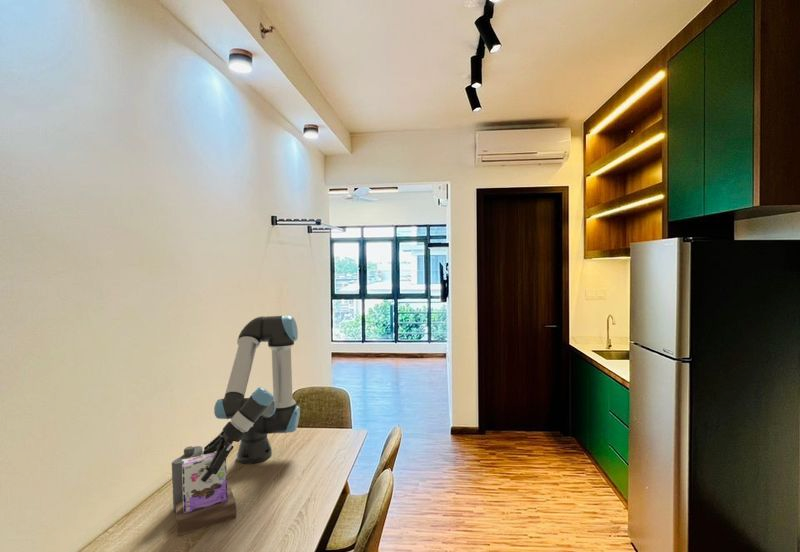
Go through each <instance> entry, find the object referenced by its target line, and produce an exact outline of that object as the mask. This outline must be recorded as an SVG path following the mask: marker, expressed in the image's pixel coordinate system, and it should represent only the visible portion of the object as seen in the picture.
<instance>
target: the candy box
mask: <svg viewBox="0 0 800 552" xmlns="http://www.w3.org/2000/svg"><path fill="white" fill-rule="evenodd" d="M215 454H216V451H215V452H214V453H210V454H205V455H201V456H197V457H192V458H188V459H182V489H183V510H184V513H188V512H192V511H195V510H198V509H202V508H205V507H209V506H212V505H215V504H219V503H222V502H226V501H227V488H228V479H227V475H228V474H227V458H226V459H225V461H224V463H223V464H222V466H221V468H220V469H219V471H218V472H217V474H216V475H215V474H212V475H211V477H210V478H209V479H208V480H207V481H206V483H205V484H204V485H203V486H202V488H201V489H200V490H199V491H197V490H195V489H194V488H192V485H193V484H194V483H195V482H196V480H197V479H198V478H199V477H200V476H201V474H202V473H203V472H204V471H205V470H206V468H207V467H209V466H210V464H211V462H212V460H213V458H214V456H215Z"/></svg>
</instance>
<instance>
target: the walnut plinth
mask: <svg viewBox="0 0 800 552" xmlns="http://www.w3.org/2000/svg"><path fill="white" fill-rule="evenodd" d="M175 513H176V514H175V515H176V517H175V519H176V528H177V529H176V531H177V532H176V533H177V537H180V536H183V535H186V534H188V533H192V532H196V531H199V530H202V529H204V528H208V527H210V526H214V525H217V524H220V523H223V522H226V521H229V520H232V519H236V518H237V502H236V499H235V497H234V494H233V491H232V488H231V487H229V488H228V487H227V501H226V502H222V503H219V504H215V505H212V506H209V507H205V508H202V509H198V510H195V511H192V512H188V513H184V510H183V501H182V502H178V503H176V512H175Z"/></svg>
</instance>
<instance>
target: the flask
mask: <svg viewBox="0 0 800 552" xmlns="http://www.w3.org/2000/svg"><path fill="white" fill-rule="evenodd" d="M203 451H204V448H203V447H202V446H200V445H196V446H195V445H194V446H186V447H185V448H184V449H183V454H182V455H181V456H180V457H178V458H176V459H174V460H173V461H172V462H171V479H172V480H171V481H172V501H173V502H172V505H173V506H172V507H173V511H174V512H175V513H176V503H178V502H182V501H183V489H182V459H188V458H192V457H197V456H201V454H202V453H203Z"/></svg>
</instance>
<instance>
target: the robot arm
mask: <svg viewBox="0 0 800 552" xmlns="http://www.w3.org/2000/svg"><path fill="white" fill-rule="evenodd" d="M297 325H298V324H297V322H296V319H295V318H294V317H293V316H291V315H275V316H274V315H272V316H269V315H268V316H258V317H255V318H253V319H251V320H250V321H249V322H248V323H246V325H245V326H243V328H242V329H241V331H240V333H239V335H238V338H237V340H236V341H237V342H236V344H237V350H236V354H235V358H234V361H233V364H232V369H231V372H230V374H229V379H228V383H227V386H226V390H225V393H224V397H223V398H219V399H217V400H216V402H215V405H214V409H213V411H214V412H213V413H214V416H215V418H216V419H219V420H230V421H227V423H226V424H225V426H224V427H223V428H222V431H221V432H220V433H218V435H217V436H216V437H215V438H214V439H212V440H211V441H210V442H209V443H208V444H206V445H205V446H204V448H203V453H202V454H201V455H205V454H210V453H214V452H216V454H215V456H214V458H213V460H212V462H211V464H210V466H209V467H207V468H206V470H205V471H204V472H203V473H202V474H201V476H200V477H199V478H198V479H197V480H196V482H195V483H194V484H193V485H192V488H194V489H195V490H197V491H199V490H200V489H201V488H202V486H203V485H204V484H205V483H206V481H207V480H208V479H209V478H210V477H211V475H212V474H215V475H216V474H217V472H218V471H219V469H220V468H221V466H222V464H223V463H224V461H225V459H226V460H227V458H228V457H229V454H230V453H231V452H232V450H233V449H234V447H235V446H233V443H234V442H235V443H239V442H240V443H239V447H238V450H237V454H236V457H237V462H238V463H240V464H256V463H261V462H263V461H265V460H267V459H268V458H270V457H271V456H272V453H273V449H272V445H271V443H270V440H269V438H268V434H269V435H270V434H287V433H289V434H291V433H294V432H296V430H297V429H298V426H299V422H300V415H301V407H300V405H297V402H296V400H295V399H294V398H293V376H292V375H293V374H292V373H293V369H292V368H293V367H292V347H293V346H294V345H295V342H296V341H298V332H299V331H298V326H297ZM263 342H264V343H266V342H267V346H268V348H269V349H271V369H272V393H273V394H272V393H271V392H269V391H268V389H266V388H264V387H262V386H260V387H257V388H256V390H255V391H253V392H252V393H251V395H250V396H249V397H245V395H246V392H247V387H248V383H249V378H250V375H251V372H252V367H253V364H254V363H253V362H254V359H255V355H256V351H257V349H258V348H259V347H260V345H261V343H263Z"/></svg>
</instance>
